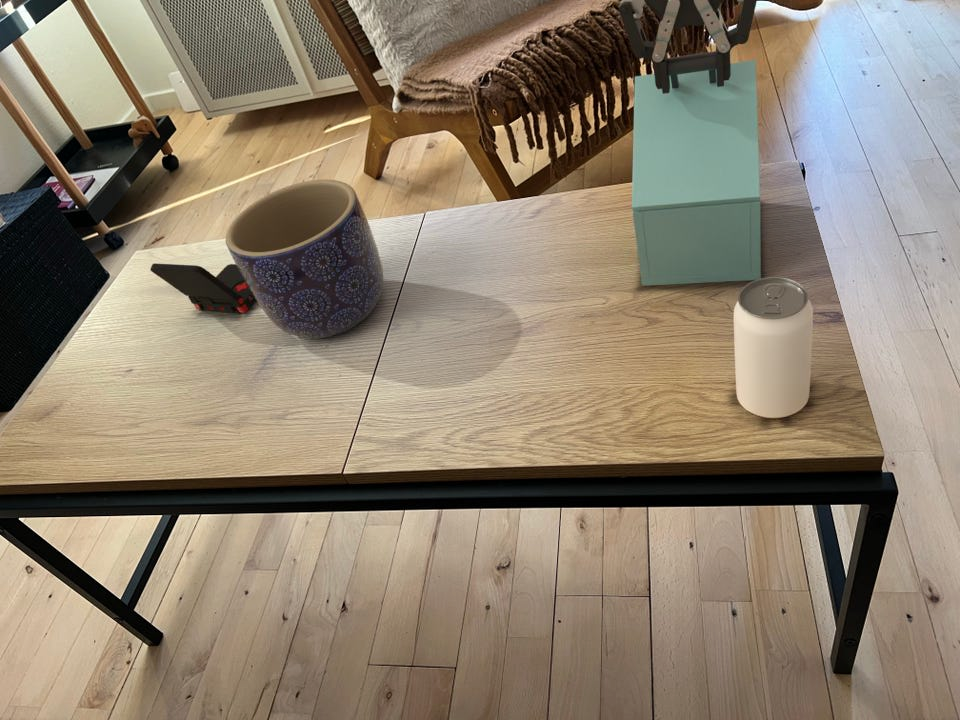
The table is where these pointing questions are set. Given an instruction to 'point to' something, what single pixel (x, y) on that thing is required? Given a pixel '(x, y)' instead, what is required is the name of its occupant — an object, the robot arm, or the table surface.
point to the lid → (696, 136)
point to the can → (773, 346)
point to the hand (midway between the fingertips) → (693, 86)
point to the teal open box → (699, 243)
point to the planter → (309, 258)
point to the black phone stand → (209, 287)
